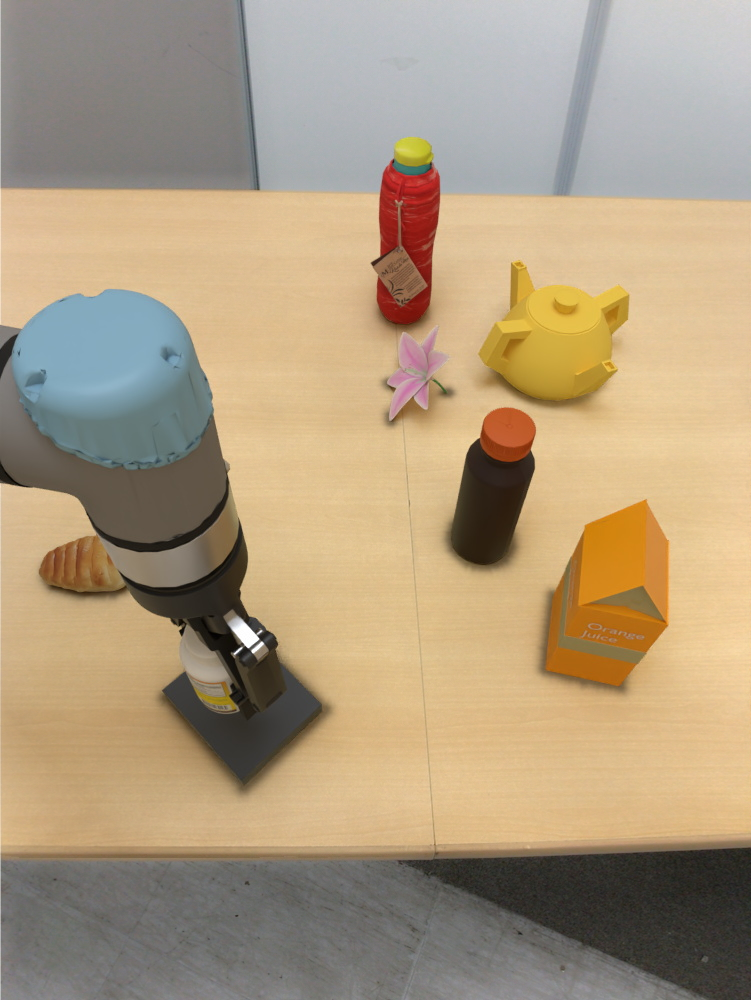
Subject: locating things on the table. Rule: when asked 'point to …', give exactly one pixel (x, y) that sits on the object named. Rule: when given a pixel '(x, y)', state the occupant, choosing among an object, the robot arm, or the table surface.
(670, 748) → the table surface
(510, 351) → the teapot
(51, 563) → the pastry
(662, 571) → the orange juice
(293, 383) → the table surface
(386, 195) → the water bottle
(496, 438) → the vinegar
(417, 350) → the lily
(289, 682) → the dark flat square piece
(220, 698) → the supplement bottle
